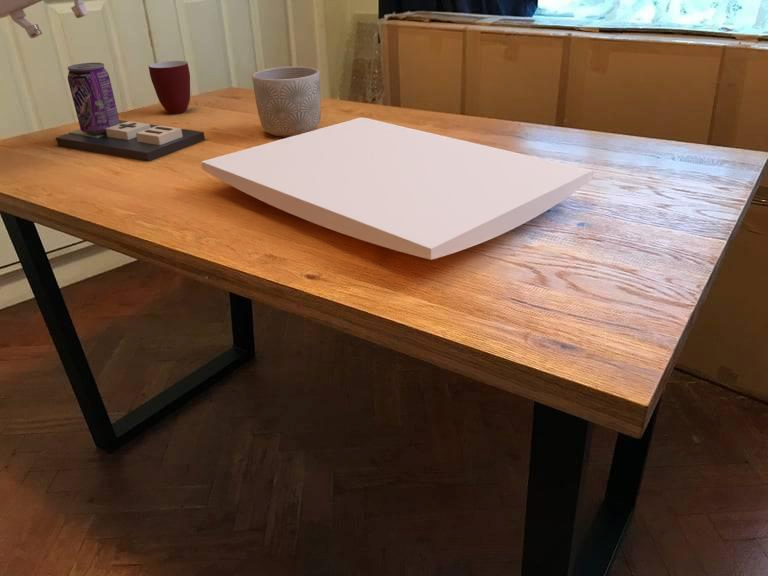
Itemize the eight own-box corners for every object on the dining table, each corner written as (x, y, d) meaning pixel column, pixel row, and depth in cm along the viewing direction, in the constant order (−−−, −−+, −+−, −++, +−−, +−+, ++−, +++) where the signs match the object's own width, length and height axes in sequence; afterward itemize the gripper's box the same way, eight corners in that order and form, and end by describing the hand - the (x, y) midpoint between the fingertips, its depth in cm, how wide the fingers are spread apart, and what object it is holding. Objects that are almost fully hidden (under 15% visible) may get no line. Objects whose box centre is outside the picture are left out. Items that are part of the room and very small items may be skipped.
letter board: (57, 145, 124) (52, 128, 122) (117, 126, 134) (113, 110, 133) (148, 161, 113) (144, 142, 112) (205, 139, 124) (202, 122, 122)
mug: (161, 106, 149) (152, 60, 144) (198, 103, 150) (190, 57, 145) (155, 117, 140) (145, 69, 135) (194, 114, 141) (186, 66, 136)
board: (589, 203, 90) (593, 170, 87) (430, 288, 70) (431, 248, 68) (363, 143, 118) (361, 117, 116) (206, 191, 99) (201, 161, 96)
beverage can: (76, 131, 126) (59, 66, 120) (114, 124, 129) (99, 60, 124) (88, 138, 121) (71, 71, 115) (126, 131, 124) (111, 65, 119)
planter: (272, 122, 133) (266, 66, 128) (331, 123, 131) (327, 66, 125) (249, 139, 123) (241, 79, 117) (313, 141, 120) (307, 80, 115)
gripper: (75, -86, 106) (119, 2, 112) (-26, -37, 111) (21, 45, 116) (55, -88, 100) (102, 5, 106) (-51, -36, 105) (0, 50, 111)
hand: (59, 26), depth 111 cm, fingers open, 8 cm apart
